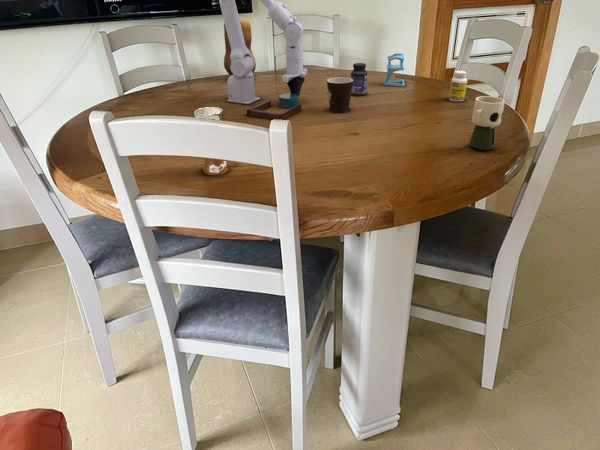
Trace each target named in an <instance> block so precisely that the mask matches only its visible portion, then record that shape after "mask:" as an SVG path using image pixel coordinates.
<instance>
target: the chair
mask: <svg viewBox="0 0 600 450" xmlns="http://www.w3.org/2000/svg"><path fill="white" fill-rule="evenodd" d="M394 60H399V64H392V63H391V61H394ZM387 61H388V63H387V64H386V74H385V76H384V80H383V81H382V83H383V86H391V87H401V88H405V87H406V86H405V85H406V83H405V80H404V79H402V80H401V79H399V80H390V78H391V76H392V75H393V74H394V73H396V72H399V71H404V70H405V68H404V61H405V54H404V53H399V52H398V53H394V54H391V55H388V56H387Z"/></svg>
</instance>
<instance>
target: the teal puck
mask: <svg viewBox="0 0 600 450" xmlns="http://www.w3.org/2000/svg"><path fill="white" fill-rule="evenodd" d="M297 104H300V95H298V94H293V93H291V92H290V93H289V92H288V93H282V94H278V107H280V108H281V109H290V108H292V107H294V106H295V105H297Z"/></svg>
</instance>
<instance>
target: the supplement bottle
mask: <svg viewBox="0 0 600 450" xmlns="http://www.w3.org/2000/svg"><path fill="white" fill-rule="evenodd" d="M467 73H468V72H467V71H465V70H455V71H454V75H453V76H454V77H452V78H451V81H450V86H449V94H448V95H449V96H448V100H449V101H451V102H457V103H458V102H459V103H460V102H463V101H465V97H466V92H467V88H468V79H467V78H466V77H467Z"/></svg>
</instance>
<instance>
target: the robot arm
mask: <svg viewBox="0 0 600 450" xmlns="http://www.w3.org/2000/svg"><path fill="white" fill-rule="evenodd" d="M259 1H260V2H261V3H262V4H263V5H264V6H265V7H266V9H267V12H268V15H267V16H268V17H269V18H270V19H271V20H272V21H273V22H274V23H275V25H276V26H277V27H278V28H279V29H280V30H281V31H282V33H283V34H282V35H283V37H284V38H285V62H286V72H285V73H284V75H282V76H281V82H282V83H286V85H287V86H288V88H289V91H290V93H293V94H298V95H299V96H300V94H301V89H302V87H303V84H304V82H305V77H304V76H306V75H307V74H308V68H306V67H304V53H303V50H304V49H303V46H304V45H303V34H304V25H303V24H302V22H301V21H300V20H298V19H297V17H296V15H295V16H293V14H292V13H291V12H290V11H289V9H287V8H288V6H287V5H286V4H285V3H282V2H281V1H276V0H259ZM218 2H219V6H220V10H221V14H222V18H223V22H224V23H225V26H226V30H227V34H228V38H229V42H230V46H231V55H230V58H231V66H230V68H231V72H232V73H233V75H231V76H230V75H229V77H228V78H227V82H226V86H227V87H226V88H227V98H228V99H227V102H228V103H229V102H231V103H237V104H245V105H250V104H252V103H254V102H257V101H259V100H260V99H261V98H260V97H258V96H256V91H255V77H254V76H255V75H254V73H253V72H252V70H253V69H254V66H255V63H254V60H253V58H252V57H251V55H250V52H249V50H248V48H247V47H246V45H245V41H244V36H243V32H242V28H241V24H240V20H239V17H240V16H239V12H238V8H237V4H236V0H218Z"/></svg>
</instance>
